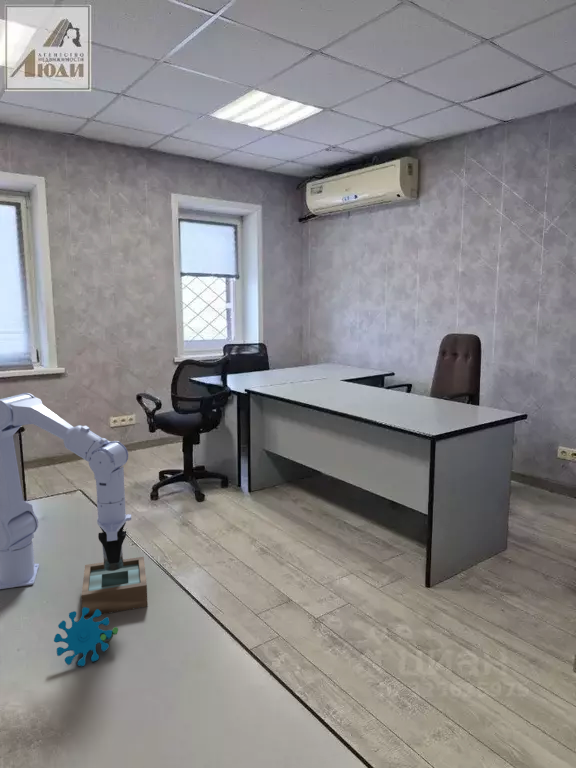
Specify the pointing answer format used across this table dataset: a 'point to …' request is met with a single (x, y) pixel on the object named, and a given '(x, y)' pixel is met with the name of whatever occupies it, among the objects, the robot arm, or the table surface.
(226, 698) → the table surface
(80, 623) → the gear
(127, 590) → the bore box
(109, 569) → the peg
